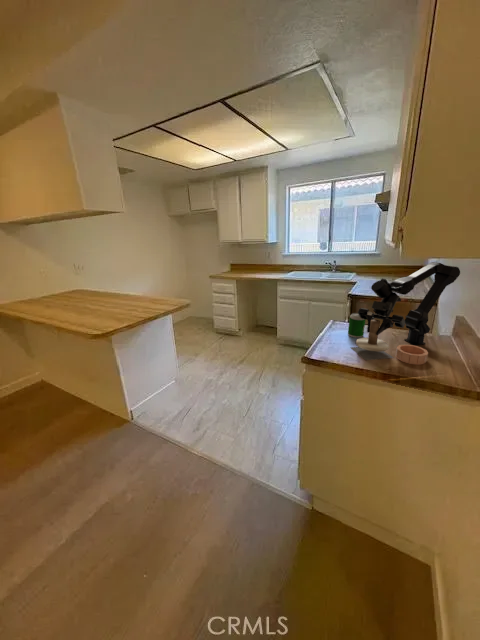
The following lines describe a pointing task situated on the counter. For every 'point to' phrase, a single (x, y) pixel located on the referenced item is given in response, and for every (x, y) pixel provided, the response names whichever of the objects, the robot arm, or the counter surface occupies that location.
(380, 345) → the lid
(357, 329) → the soda can
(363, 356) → the mat
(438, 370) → the counter surface
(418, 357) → the bowl
